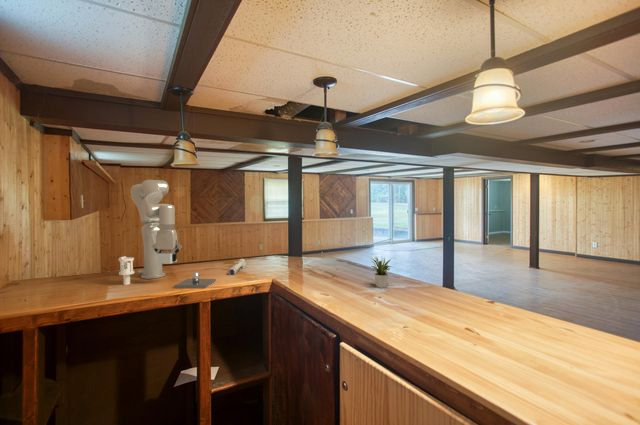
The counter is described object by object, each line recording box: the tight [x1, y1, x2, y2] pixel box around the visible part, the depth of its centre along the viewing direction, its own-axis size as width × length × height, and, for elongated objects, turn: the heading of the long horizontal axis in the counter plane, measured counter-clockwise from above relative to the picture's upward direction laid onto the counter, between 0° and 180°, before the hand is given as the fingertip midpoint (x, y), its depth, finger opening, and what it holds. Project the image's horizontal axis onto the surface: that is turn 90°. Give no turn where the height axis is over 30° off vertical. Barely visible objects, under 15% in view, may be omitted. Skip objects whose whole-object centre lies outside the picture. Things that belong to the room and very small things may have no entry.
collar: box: [157, 251, 178, 265], centre depth 169 cm, size 7×7×5 cm
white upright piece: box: [118, 255, 135, 286], centre depth 169 cm, size 7×7×15 cm
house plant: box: [367, 254, 394, 289], centre depth 160 cm, size 14×14×16 cm
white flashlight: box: [227, 258, 247, 276], centre depth 202 cm, size 5×7×25 cm
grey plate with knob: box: [173, 271, 217, 289], centre depth 166 cm, size 16×14×6 cm
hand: (167, 260), depth 169 cm, fingers closed on collar, 7 cm apart
